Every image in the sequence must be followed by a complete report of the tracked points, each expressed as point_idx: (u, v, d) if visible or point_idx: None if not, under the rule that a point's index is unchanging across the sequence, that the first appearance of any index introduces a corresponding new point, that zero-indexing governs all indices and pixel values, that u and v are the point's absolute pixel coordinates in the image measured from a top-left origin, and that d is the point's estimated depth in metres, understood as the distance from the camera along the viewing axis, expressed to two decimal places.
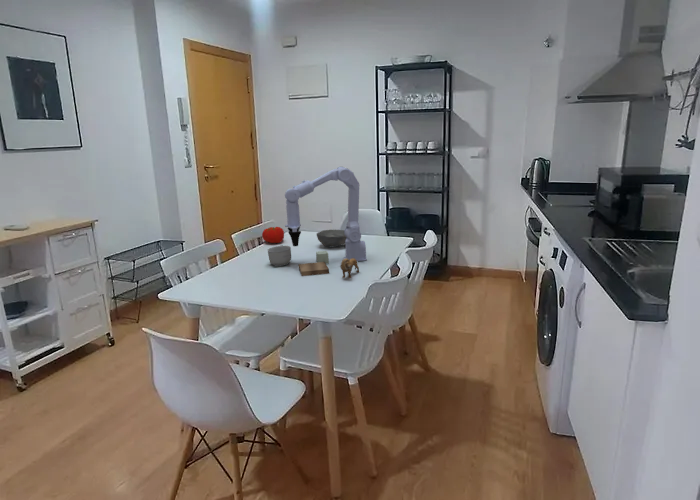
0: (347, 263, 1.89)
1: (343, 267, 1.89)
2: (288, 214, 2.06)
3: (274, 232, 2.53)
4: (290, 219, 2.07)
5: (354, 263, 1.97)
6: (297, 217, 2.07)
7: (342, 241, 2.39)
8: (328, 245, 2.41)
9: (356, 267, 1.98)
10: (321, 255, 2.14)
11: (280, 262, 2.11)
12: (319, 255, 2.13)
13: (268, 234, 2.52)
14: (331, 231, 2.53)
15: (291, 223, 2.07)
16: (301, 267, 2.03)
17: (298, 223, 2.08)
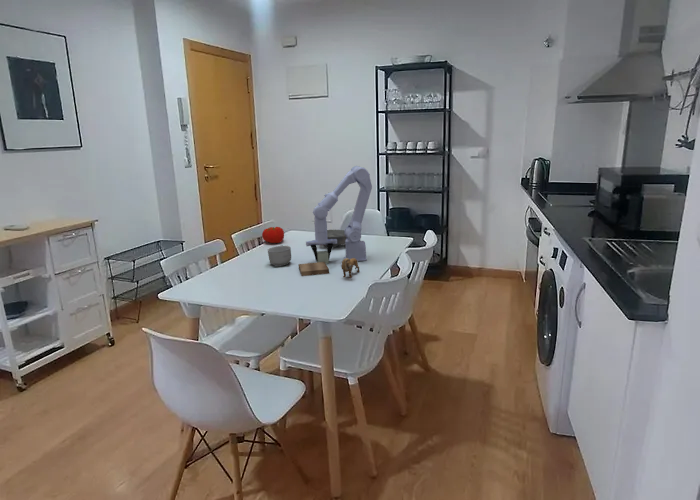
0: (348, 263, 1.89)
1: (344, 267, 1.89)
2: (316, 230, 2.11)
3: (274, 232, 2.53)
4: None
5: (354, 263, 1.97)
6: (317, 234, 2.11)
7: (342, 241, 2.39)
8: None
9: (356, 267, 1.99)
10: (321, 255, 2.14)
11: (280, 262, 2.11)
12: (319, 255, 2.13)
13: (268, 234, 2.52)
14: (331, 231, 2.53)
15: None
16: (301, 267, 2.03)
17: (318, 240, 2.12)
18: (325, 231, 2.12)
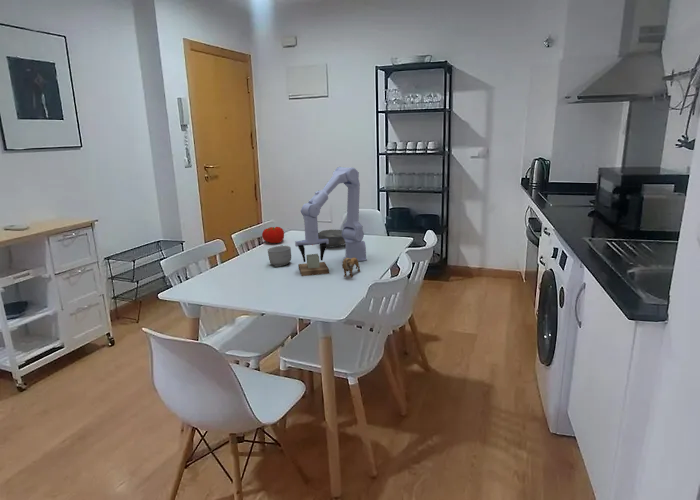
0: (349, 262, 1.90)
1: (345, 266, 1.90)
2: (309, 230, 1.97)
3: (274, 232, 2.53)
4: None
5: (355, 262, 1.98)
6: (307, 233, 1.98)
7: (342, 241, 2.39)
8: (328, 245, 2.41)
9: (357, 266, 1.99)
10: (311, 258, 2.01)
11: (280, 262, 2.11)
12: (309, 258, 2.01)
13: (268, 234, 2.52)
14: (331, 231, 2.53)
15: None
16: (301, 267, 2.03)
17: (308, 240, 1.99)
18: (317, 230, 1.99)
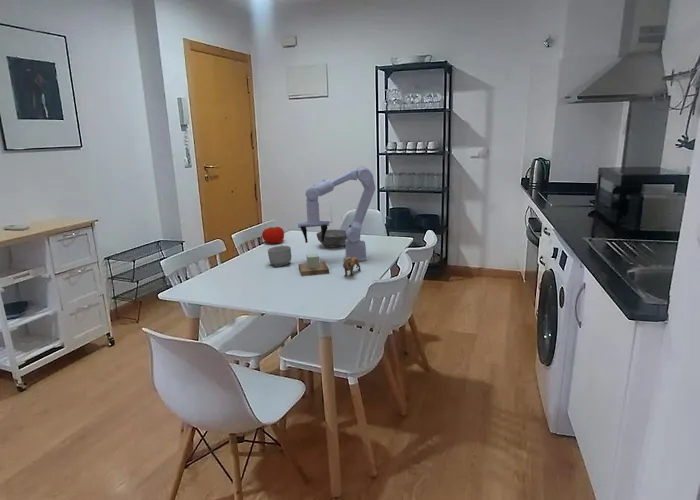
0: (350, 262, 1.90)
1: (346, 266, 1.91)
2: (308, 212, 2.10)
3: (274, 232, 2.53)
4: None
5: (356, 262, 1.99)
6: (309, 215, 2.11)
7: (342, 241, 2.39)
8: (328, 245, 2.41)
9: (358, 266, 2.00)
10: (311, 258, 2.01)
11: (280, 262, 2.11)
12: (309, 258, 2.01)
13: (268, 234, 2.53)
14: (331, 231, 2.53)
15: None
16: (301, 267, 2.03)
17: (310, 222, 2.11)
18: (316, 213, 2.10)
